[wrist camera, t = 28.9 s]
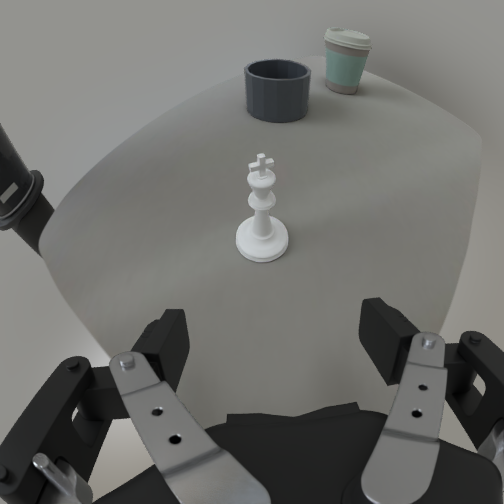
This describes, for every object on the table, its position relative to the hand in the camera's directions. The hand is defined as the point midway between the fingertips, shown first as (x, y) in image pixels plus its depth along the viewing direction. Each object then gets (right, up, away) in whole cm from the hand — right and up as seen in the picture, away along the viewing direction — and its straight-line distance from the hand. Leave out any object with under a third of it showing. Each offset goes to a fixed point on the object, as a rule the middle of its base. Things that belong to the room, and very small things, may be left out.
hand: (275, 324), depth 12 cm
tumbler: (+3, +26, +27) cm, 37 cm away
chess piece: (0, +4, +14) cm, 15 cm away
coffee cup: (+16, +34, +32) cm, 49 cm away
